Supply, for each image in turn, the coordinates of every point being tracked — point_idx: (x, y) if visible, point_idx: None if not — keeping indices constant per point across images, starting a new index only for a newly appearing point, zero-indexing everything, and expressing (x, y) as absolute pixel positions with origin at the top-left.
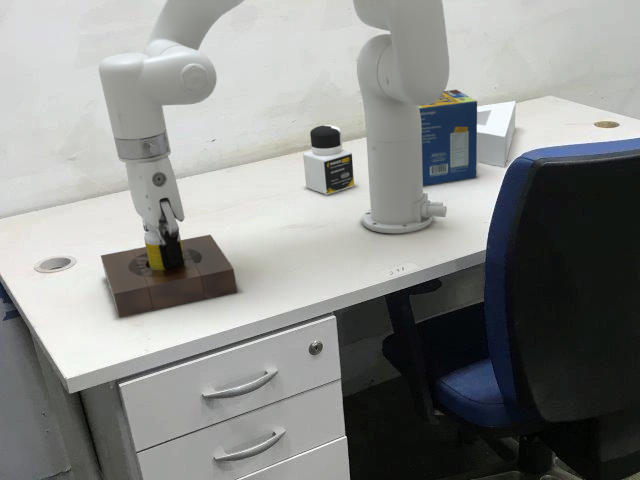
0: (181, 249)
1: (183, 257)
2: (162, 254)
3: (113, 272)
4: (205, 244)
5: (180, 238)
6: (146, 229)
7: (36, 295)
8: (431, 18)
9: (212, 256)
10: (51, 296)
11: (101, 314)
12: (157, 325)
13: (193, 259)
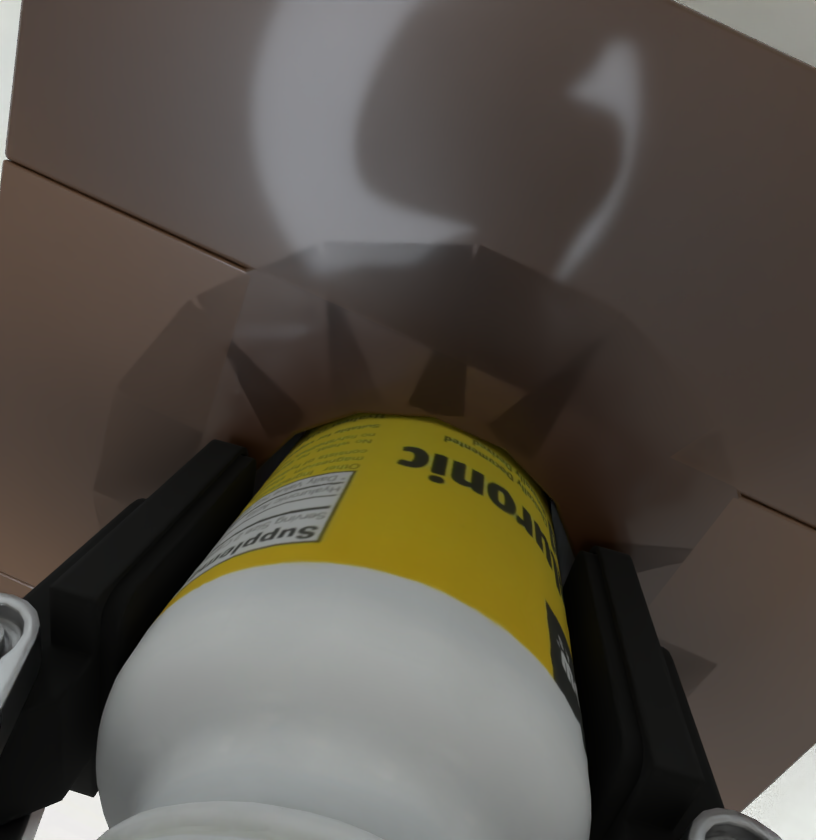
0: (666, 667)
1: (521, 491)
2: None
3: None
4: (327, 27)
5: (492, 598)
6: (37, 818)
7: (49, 822)
8: None
9: (724, 223)
10: (99, 806)
11: None
12: (801, 793)
13: (582, 405)
